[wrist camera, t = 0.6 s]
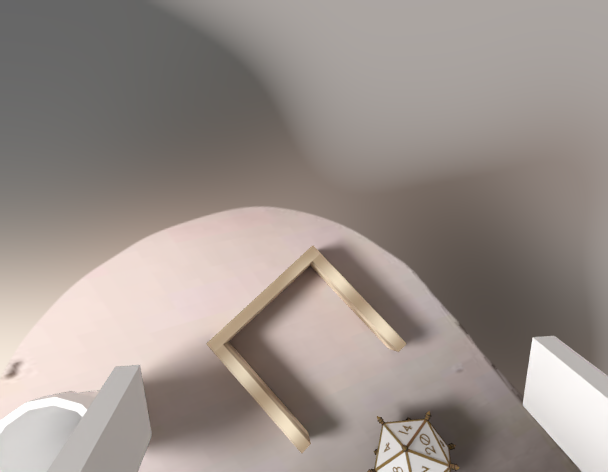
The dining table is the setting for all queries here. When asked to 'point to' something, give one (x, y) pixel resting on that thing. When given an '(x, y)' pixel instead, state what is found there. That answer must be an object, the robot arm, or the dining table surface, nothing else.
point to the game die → (412, 448)
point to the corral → (221, 339)
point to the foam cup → (40, 430)
